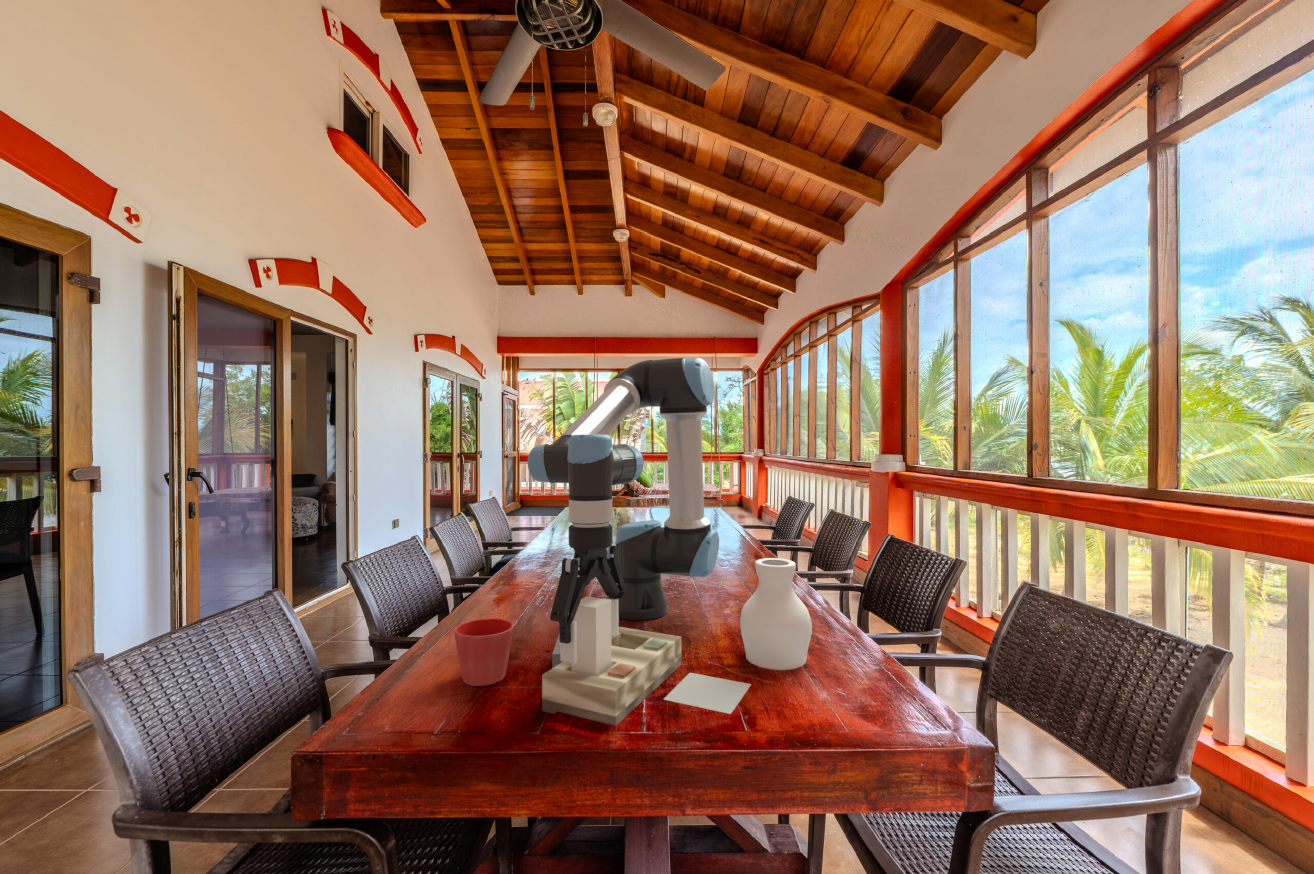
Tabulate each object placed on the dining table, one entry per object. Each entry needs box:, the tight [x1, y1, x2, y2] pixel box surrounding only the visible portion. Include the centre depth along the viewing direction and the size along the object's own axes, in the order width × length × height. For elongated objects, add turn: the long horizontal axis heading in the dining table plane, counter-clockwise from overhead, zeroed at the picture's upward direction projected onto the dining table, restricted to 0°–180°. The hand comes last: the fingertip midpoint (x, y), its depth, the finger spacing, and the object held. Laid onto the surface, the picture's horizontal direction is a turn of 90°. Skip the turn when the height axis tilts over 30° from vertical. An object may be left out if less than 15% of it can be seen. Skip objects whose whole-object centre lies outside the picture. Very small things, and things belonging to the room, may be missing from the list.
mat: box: [663, 672, 752, 715], centre depth 99 cm, size 12×12×1 cm
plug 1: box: [551, 633, 563, 669], centre depth 113 cm, size 15×5×5 cm, turn 3°
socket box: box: [541, 626, 682, 727], centre depth 102 cm, size 26×14×6 cm, turn 154°
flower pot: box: [453, 618, 515, 687], centre depth 106 cm, size 11×11×10 cm
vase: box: [740, 557, 813, 671], centre depth 114 cm, size 14×14×20 cm
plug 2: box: [571, 596, 612, 677], centre depth 97 cm, size 5×5×15 cm
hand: (591, 647), depth 97 cm, fingers open, 13 cm apart
